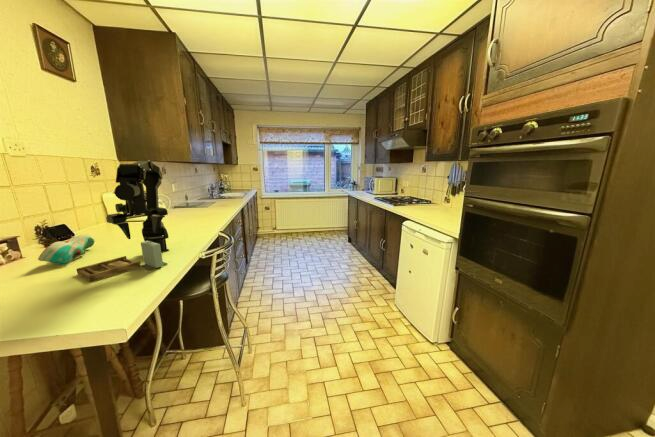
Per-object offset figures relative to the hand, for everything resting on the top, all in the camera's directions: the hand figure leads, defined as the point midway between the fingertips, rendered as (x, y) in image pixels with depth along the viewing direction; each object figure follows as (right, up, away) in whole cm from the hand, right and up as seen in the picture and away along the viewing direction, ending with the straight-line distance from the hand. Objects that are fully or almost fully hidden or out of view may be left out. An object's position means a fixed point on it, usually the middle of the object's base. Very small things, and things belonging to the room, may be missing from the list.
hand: (142, 236), depth 99 cm
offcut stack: (-9, -13, 0) cm, 15 cm away
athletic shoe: (-40, -11, +12) cm, 43 cm away
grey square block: (+3, -12, +1) cm, 12 cm away
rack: (-10, -13, -3) cm, 17 cm away
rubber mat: (+3, -12, +1) cm, 13 cm away
